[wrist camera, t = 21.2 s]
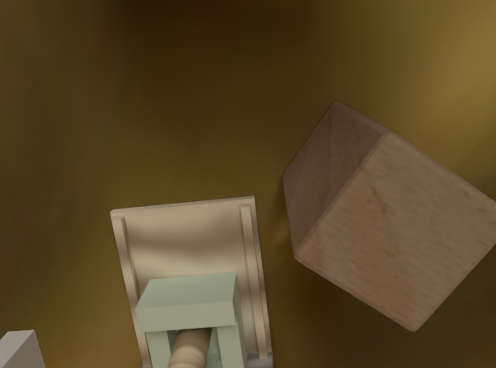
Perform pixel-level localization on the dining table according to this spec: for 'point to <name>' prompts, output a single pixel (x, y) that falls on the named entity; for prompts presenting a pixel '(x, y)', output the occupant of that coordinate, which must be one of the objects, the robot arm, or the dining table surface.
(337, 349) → the dining table surface
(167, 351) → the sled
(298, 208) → the wooden block
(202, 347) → the dowel
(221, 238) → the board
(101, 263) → the dining table surface
